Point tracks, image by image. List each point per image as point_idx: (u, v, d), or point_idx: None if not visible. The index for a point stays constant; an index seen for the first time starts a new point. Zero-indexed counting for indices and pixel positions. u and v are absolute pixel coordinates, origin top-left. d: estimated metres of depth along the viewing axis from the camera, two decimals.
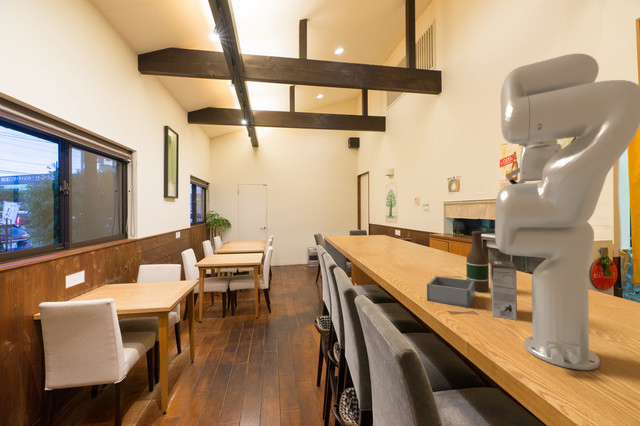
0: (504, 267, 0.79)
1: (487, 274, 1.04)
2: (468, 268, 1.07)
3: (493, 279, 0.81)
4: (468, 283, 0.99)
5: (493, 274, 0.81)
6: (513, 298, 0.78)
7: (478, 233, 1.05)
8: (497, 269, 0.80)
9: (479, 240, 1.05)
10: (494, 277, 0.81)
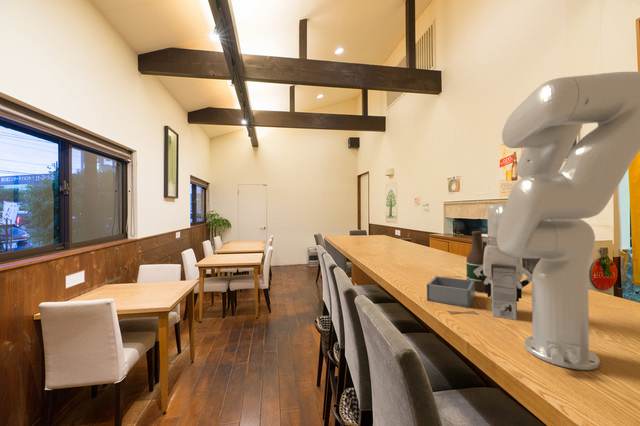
0: (504, 267, 0.79)
1: None
2: (468, 268, 1.07)
3: (493, 279, 0.81)
4: (468, 283, 0.99)
5: (493, 274, 0.81)
6: (513, 298, 0.78)
7: (478, 233, 1.05)
8: (497, 269, 0.80)
9: (479, 240, 1.05)
10: (494, 277, 0.81)
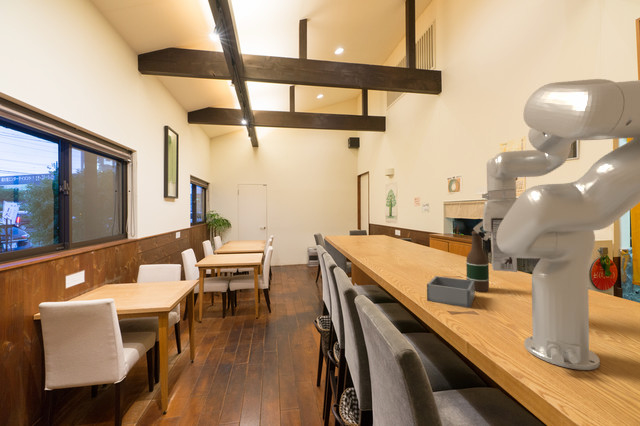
0: None
1: (487, 274, 1.04)
2: (468, 268, 1.07)
3: (493, 232, 0.80)
4: (468, 283, 0.99)
5: (493, 227, 0.80)
6: None
7: None
8: (497, 222, 0.79)
9: (479, 240, 1.05)
10: (494, 230, 0.80)
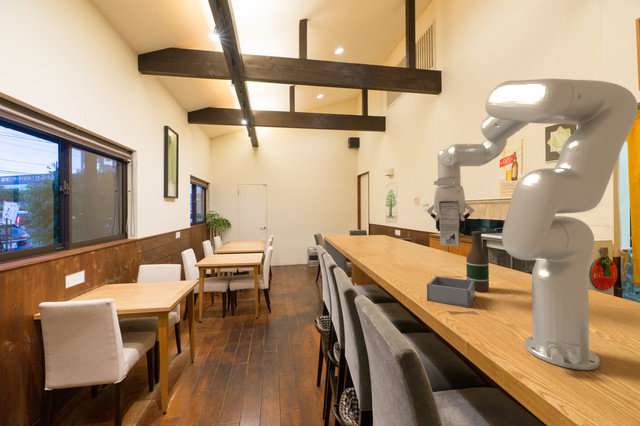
0: (449, 202, 0.93)
1: (487, 274, 1.04)
2: (468, 268, 1.07)
3: (440, 213, 0.95)
4: (468, 283, 0.99)
5: (440, 209, 0.95)
6: (456, 227, 0.92)
7: (478, 233, 1.05)
8: (443, 204, 0.94)
9: (479, 240, 1.05)
10: (441, 211, 0.94)
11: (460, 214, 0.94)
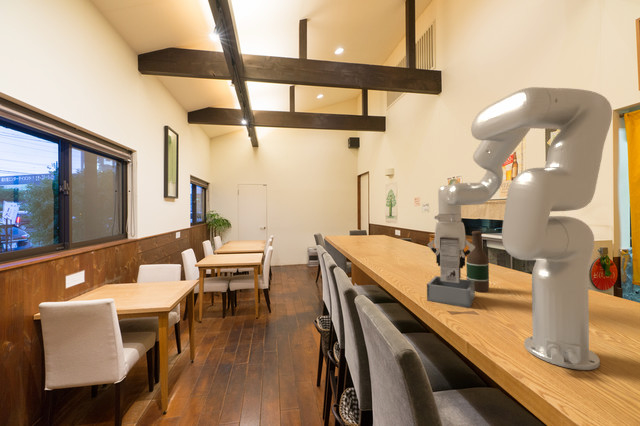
0: (449, 239, 0.93)
1: (487, 274, 1.04)
2: (468, 268, 1.07)
3: (441, 249, 0.95)
4: (468, 283, 0.99)
5: (441, 245, 0.95)
6: (456, 265, 0.93)
7: (478, 233, 1.05)
8: (444, 240, 0.94)
9: (479, 240, 1.05)
10: (441, 247, 0.95)
11: (460, 251, 0.94)
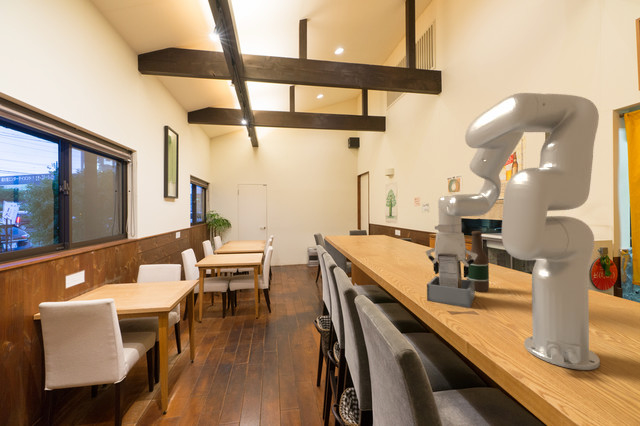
0: (447, 255, 0.94)
1: (487, 274, 1.04)
2: None
3: (439, 266, 0.95)
4: (468, 283, 0.99)
5: (439, 262, 0.95)
6: (455, 282, 0.92)
7: (478, 233, 1.05)
8: (442, 257, 0.95)
9: (479, 240, 1.05)
10: (440, 264, 0.95)
11: (463, 260, 0.94)
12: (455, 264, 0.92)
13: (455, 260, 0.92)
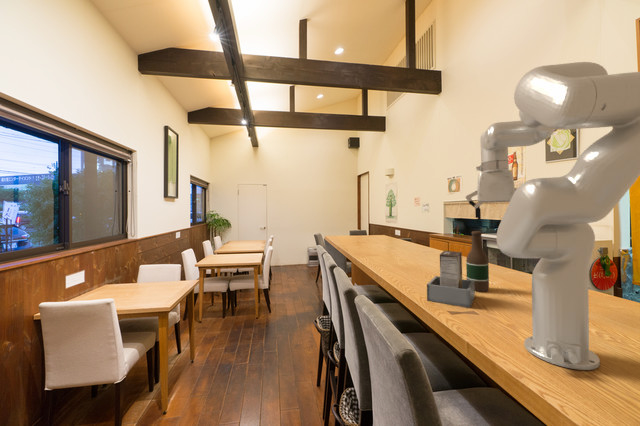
0: (449, 256, 0.93)
1: (487, 274, 1.04)
2: (468, 268, 1.07)
3: (440, 266, 0.95)
4: (468, 283, 0.99)
5: (440, 262, 0.95)
6: (456, 282, 0.92)
7: (478, 233, 1.05)
8: (444, 258, 0.94)
9: (479, 240, 1.05)
10: (441, 264, 0.95)
11: None
12: (456, 265, 0.92)
13: (457, 261, 0.92)
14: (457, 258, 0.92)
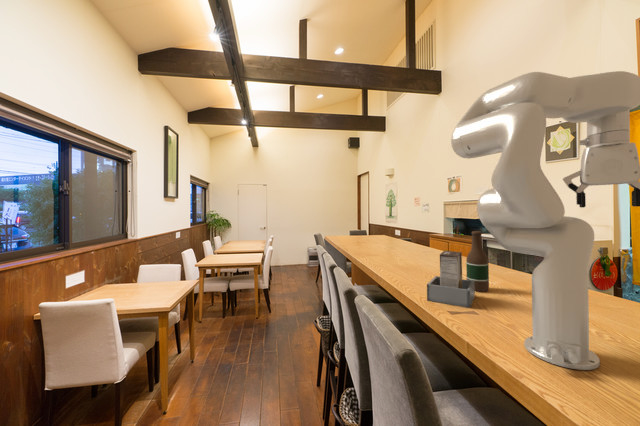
0: (449, 256, 0.93)
1: (487, 274, 1.04)
2: (468, 268, 1.07)
3: (440, 266, 0.95)
4: (468, 283, 0.99)
5: (440, 262, 0.95)
6: (456, 282, 0.92)
7: (478, 233, 1.05)
8: (444, 258, 0.94)
9: (479, 240, 1.05)
10: (441, 264, 0.95)
11: (635, 182, 0.65)
12: (456, 265, 0.92)
13: (457, 261, 0.92)
14: (457, 258, 0.92)
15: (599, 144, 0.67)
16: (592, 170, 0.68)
